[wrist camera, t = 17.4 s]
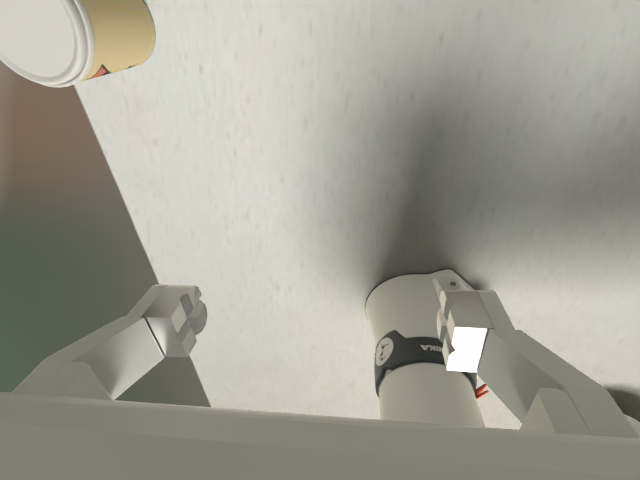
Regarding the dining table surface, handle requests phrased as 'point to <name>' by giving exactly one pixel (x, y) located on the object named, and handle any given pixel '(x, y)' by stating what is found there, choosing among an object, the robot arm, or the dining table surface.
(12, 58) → the coffee cup
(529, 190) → the dining table surface
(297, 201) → the dining table surface
